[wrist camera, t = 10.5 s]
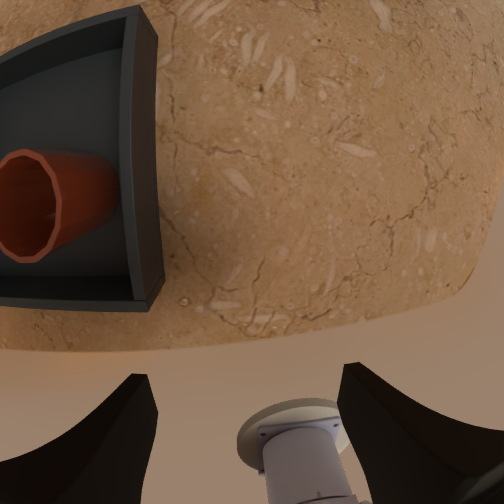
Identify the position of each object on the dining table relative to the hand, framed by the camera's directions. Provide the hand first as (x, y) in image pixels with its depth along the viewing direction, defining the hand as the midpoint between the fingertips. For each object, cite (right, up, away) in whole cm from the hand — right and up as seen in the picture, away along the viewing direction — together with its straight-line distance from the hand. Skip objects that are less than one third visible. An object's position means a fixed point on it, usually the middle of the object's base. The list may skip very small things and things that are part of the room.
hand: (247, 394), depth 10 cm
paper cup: (-10, +9, +7) cm, 15 cm away
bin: (-14, +11, +6) cm, 19 cm away
